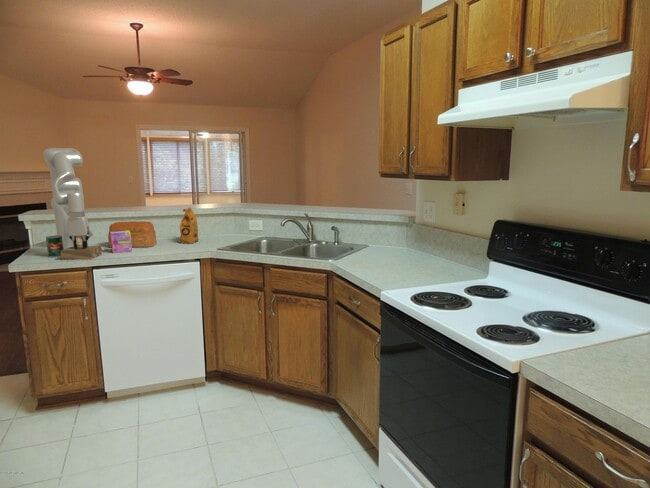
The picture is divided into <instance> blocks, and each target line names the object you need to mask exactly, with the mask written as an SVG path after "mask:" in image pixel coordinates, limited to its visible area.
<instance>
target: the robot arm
mask: <svg viewBox="0 0 650 488" xmlns="http://www.w3.org/2000/svg"><path fill="white" fill-rule="evenodd" d="M43 159H44V161H45V164H46V165H47V168H48V170H49V175H50V183H51V188H52V189H51V191H52V192H51V193H52V196H53V197H52V199H51V201H50V204H51V208H52V210H53V216H54V224H55V232H56V235H60V236H62V240H63V248H64V249H67V248H69V247H74V248H75V249H76V248H77V246H76V237H75V236H82V237H83V248H87V246H88V245H89V244H88V240H89V239H90V238H91V237H92V236H94V234H93V233H92V231H91V230H90V225H89V221H88V217H87V216H86V212H85V199H84V198H85V197H84V191H83V190H84V189H83V188H84V187H83V183H82V180H81V179H80V177H76V173H75V169H74V167H81V166H83V163H84V159H83V155H82V154H81V152H80V151H79V150H77V149H76V148H73V147H72V148H71V147H66V148H65V147H62V148H61V147H52V148H51V147H50V148H46V149H45V150H44V151H43Z"/></svg>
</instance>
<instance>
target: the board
mask: <svg viewBox="0 0 650 488" xmlns="http://www.w3.org/2000/svg"><path fill="white" fill-rule="evenodd" d="M60 253H61V256H60V261H61V260H62V261H72V260H73V261H74V260H76V261H77V260H79V261H80V260H81V261H82V260H83V261H84V260H93V259H96V258H98V257H99V256H102V255H103V254H102V246H100V245H91V246H90V245H89V246H87V248H85V249H77V248H76V249H75V248H74V247H69V248H67V249H64V250H61V251H60Z"/></svg>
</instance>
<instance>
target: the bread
mask: <svg viewBox="0 0 650 488" xmlns="http://www.w3.org/2000/svg"><path fill="white" fill-rule="evenodd" d="M128 230H129V231H130V235H131V245H132V248H150V247H153V246H155V245H158V242H157V237H156V235H157V234H156V230H155V226H154V224H153V223H152V222H151V221H143V220H141V221H131V220H130V221H117V222H114V223H112V224H110V225H109V229H108V234H107V236H108V237H107V239H108V247H109V248H112V243H111V234H110V232H117V231H128Z"/></svg>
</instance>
